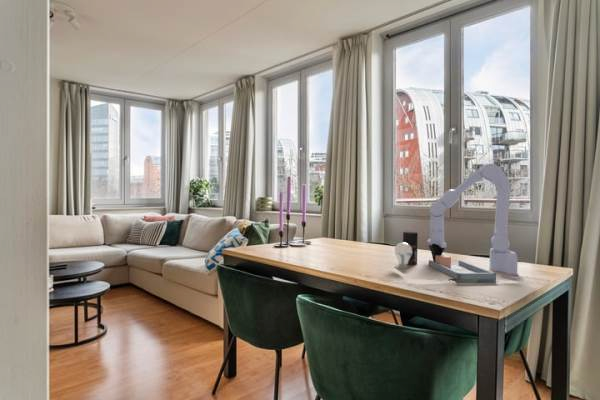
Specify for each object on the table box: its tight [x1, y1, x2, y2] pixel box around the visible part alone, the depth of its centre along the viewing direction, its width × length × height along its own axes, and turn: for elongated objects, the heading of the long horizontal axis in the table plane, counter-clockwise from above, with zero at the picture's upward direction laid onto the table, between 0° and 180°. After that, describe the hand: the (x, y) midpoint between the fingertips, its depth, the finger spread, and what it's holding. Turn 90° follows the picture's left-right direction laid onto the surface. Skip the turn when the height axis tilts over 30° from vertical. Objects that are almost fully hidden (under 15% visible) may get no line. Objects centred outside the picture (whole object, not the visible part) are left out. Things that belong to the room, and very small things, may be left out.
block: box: [435, 254, 452, 268], centre depth 155 cm, size 4×4×4 cm
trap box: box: [428, 259, 497, 284], centre depth 147 cm, size 14×26×4 cm, turn 3°
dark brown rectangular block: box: [402, 231, 419, 266], centre depth 162 cm, size 6×6×15 cm
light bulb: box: [394, 241, 412, 270], centre depth 153 cm, size 7×7×12 cm
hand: (436, 262), depth 161 cm, fingers closed
